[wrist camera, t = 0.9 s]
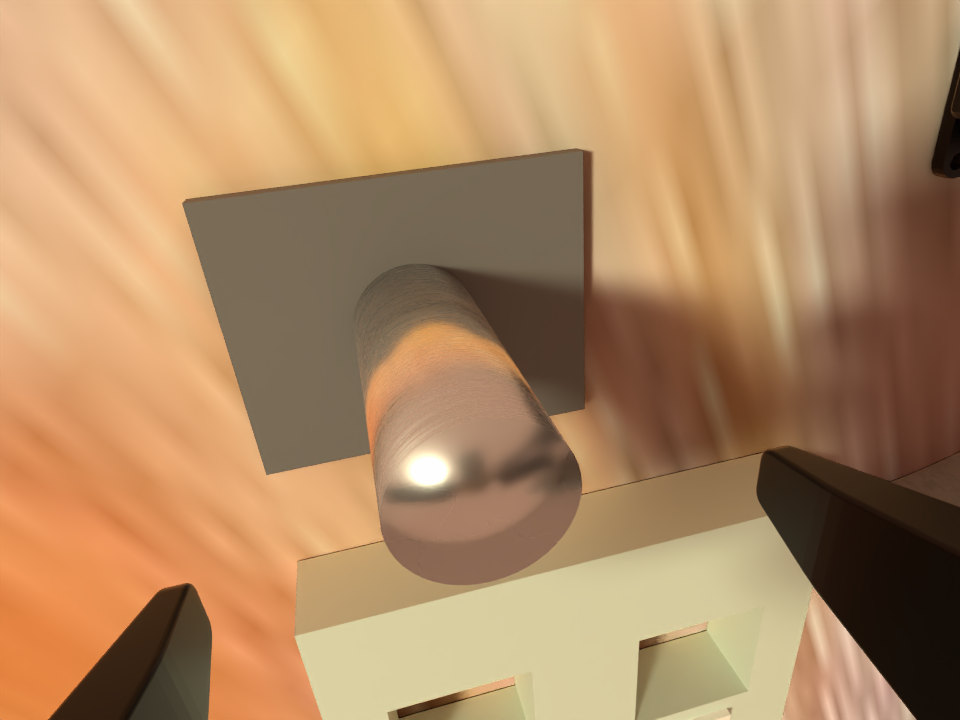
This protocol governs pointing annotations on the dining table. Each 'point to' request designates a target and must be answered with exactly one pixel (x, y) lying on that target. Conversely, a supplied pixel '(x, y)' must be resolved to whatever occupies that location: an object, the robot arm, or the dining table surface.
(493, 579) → the plug
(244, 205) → the mat
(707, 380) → the dining table surface
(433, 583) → the socket block
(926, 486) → the grey upright panel
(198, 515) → the dining table surface
